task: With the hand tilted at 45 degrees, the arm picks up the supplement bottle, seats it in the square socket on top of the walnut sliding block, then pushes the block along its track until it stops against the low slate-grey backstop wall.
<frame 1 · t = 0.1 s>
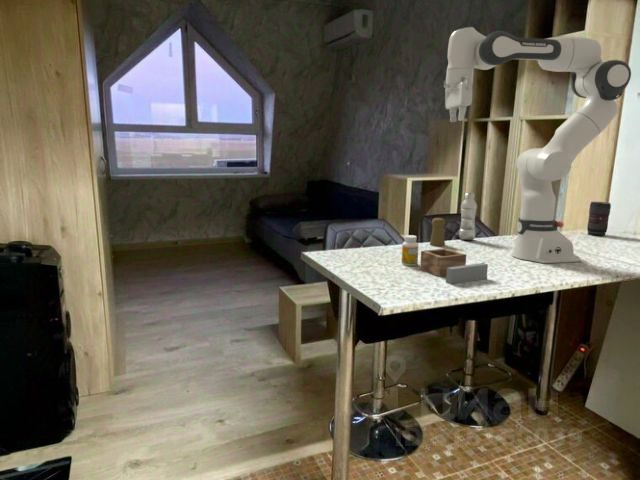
hand: (456, 121, 161), 48 cm above the bar counter, tool pointing down, fingers open, 8 cm apart
cork: (437, 245, 191), on the bar counter
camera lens: (596, 235, 213), on the bar counter
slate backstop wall: (466, 280, 141), on the bar counter
plastic bottle: (466, 240, 200), on the bar counter
supplement bottle: (409, 264, 160), on the bar counter
walnut socket block: (442, 261, 151), point 3 cm above the bar counter, slide at 0.0 cm
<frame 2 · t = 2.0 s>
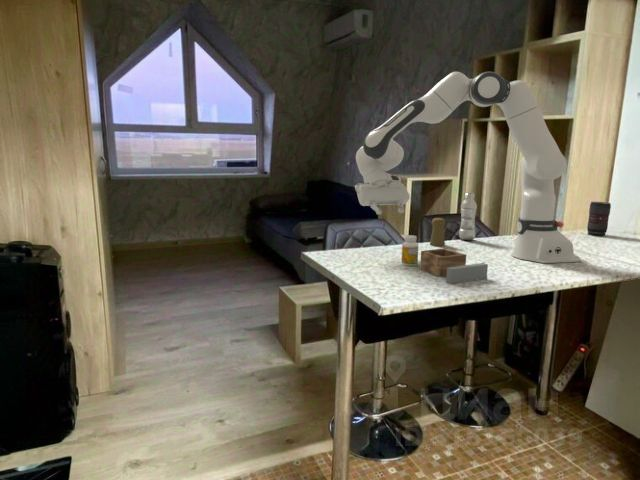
hand: (390, 212, 168), 16 cm above the bar counter, tool tilted 45°, fingers open, 8 cm apart
nothing on the bar counter moved.
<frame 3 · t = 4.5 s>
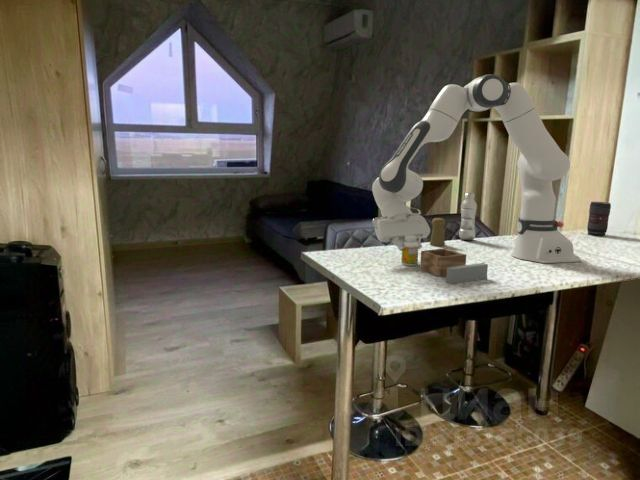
hand: (411, 248, 159), 5 cm above the bar counter, tool tilted 45°, fingers closed on supplement bottle, 5 cm apart
supplement bottle: (409, 264, 160), on the bar counter, touching gripper
everything else where it was.
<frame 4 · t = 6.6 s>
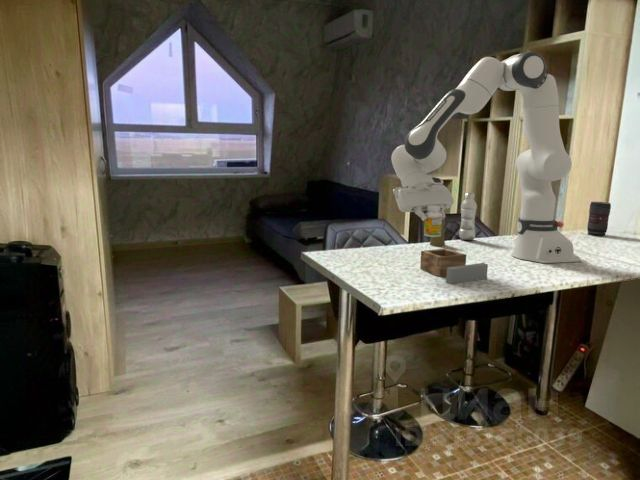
hand: (434, 219, 151), 17 cm above the bar counter, tool tilted 45°, fingers closed on supplement bottle, 5 cm apart
supplement bottle: (432, 236, 153), point 11 cm above the bar counter, touching gripper
everything else where it was.
when the fingers open (10 cm above the bar counter, at t = 8.8 s): supplement bottle drops 1 cm, resting on walnut socket block.
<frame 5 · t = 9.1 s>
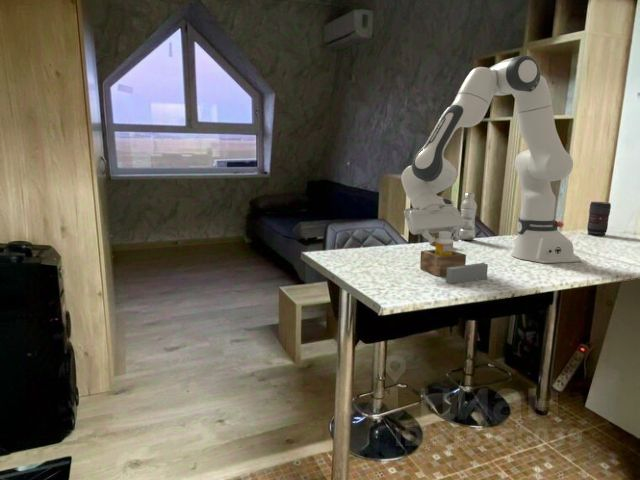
hand: (445, 241, 149), 10 cm above the bar counter, tool tilted 45°, fingers open, 8 cm apart
supplement bottle: (442, 262, 151), point 3 cm above the bar counter, touching walnut socket block
walnut socket block: (442, 261, 151), point 3 cm above the bar counter, slide at -0.1 cm, touching supplement bottle
everything else where it was.
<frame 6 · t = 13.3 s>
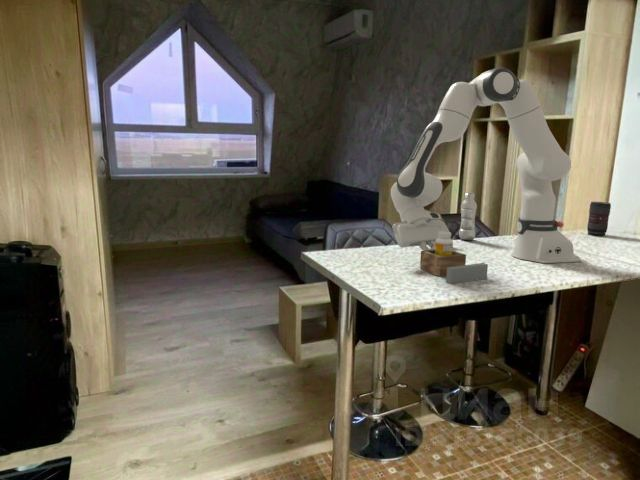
hand: (432, 254, 156), 4 cm above the bar counter, tool tilted 45°, fingers closed, pressing on walnut socket block
walnut socket block: (442, 261, 151), point 3 cm above the bar counter, slide at -0.1 cm, touching supplement bottle, gripper
everything else where it was.
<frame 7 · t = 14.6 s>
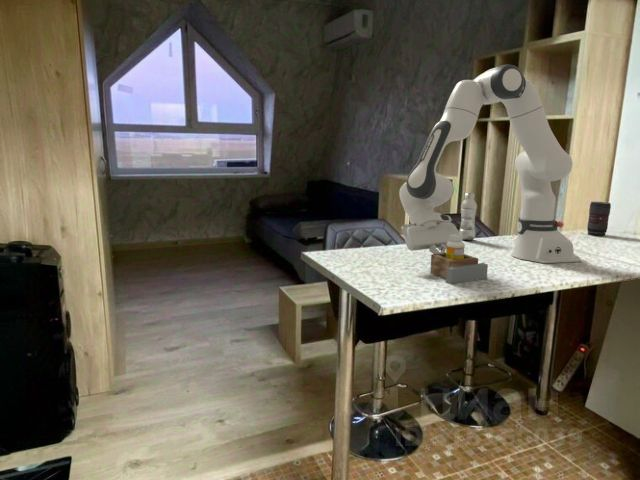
hand: (442, 257, 151), 4 cm above the bar counter, tool tilted 45°, fingers closed, pressing on walnut socket block
supplement bottle: (454, 266, 146), point 3 cm above the bar counter, touching walnut socket block
walnut socket block: (453, 265, 146), point 3 cm above the bar counter, slide at 5.3 cm, touching supplement bottle, gripper, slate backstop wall
everything else where it was.
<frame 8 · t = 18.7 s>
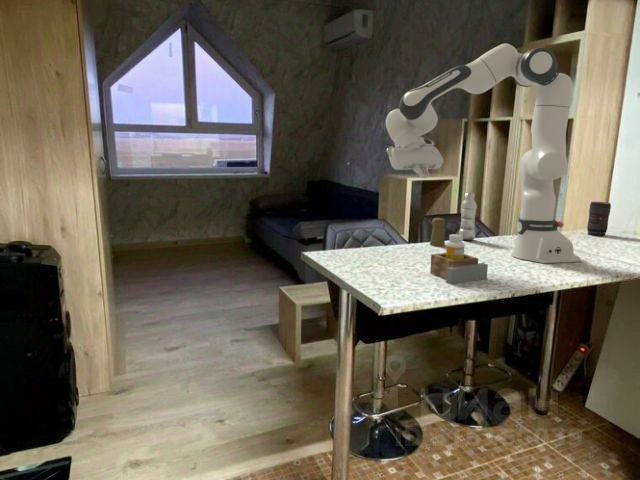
hand: (425, 176, 160), 29 cm above the bar counter, tool tilted 45°, fingers closed
walnut socket block: (453, 265, 146), point 3 cm above the bar counter, slide at 5.3 cm, touching supplement bottle
everything else where it was.
at the end: supplement bottle 0.1 cm off-centre on the walnut socket block, point 2.9 cm above the walnut socket block's base; supplement bottle tilted 0°; walnut socket block slide at 5.3 cm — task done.
